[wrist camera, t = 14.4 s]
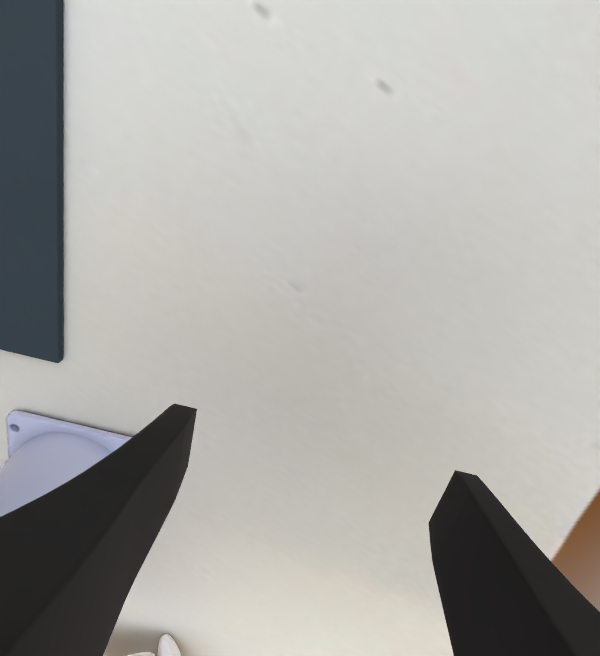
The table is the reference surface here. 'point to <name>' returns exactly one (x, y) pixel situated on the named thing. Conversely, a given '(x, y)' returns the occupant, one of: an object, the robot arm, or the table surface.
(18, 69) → the display mat
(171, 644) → the white lumpy figurine
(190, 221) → the table surface
